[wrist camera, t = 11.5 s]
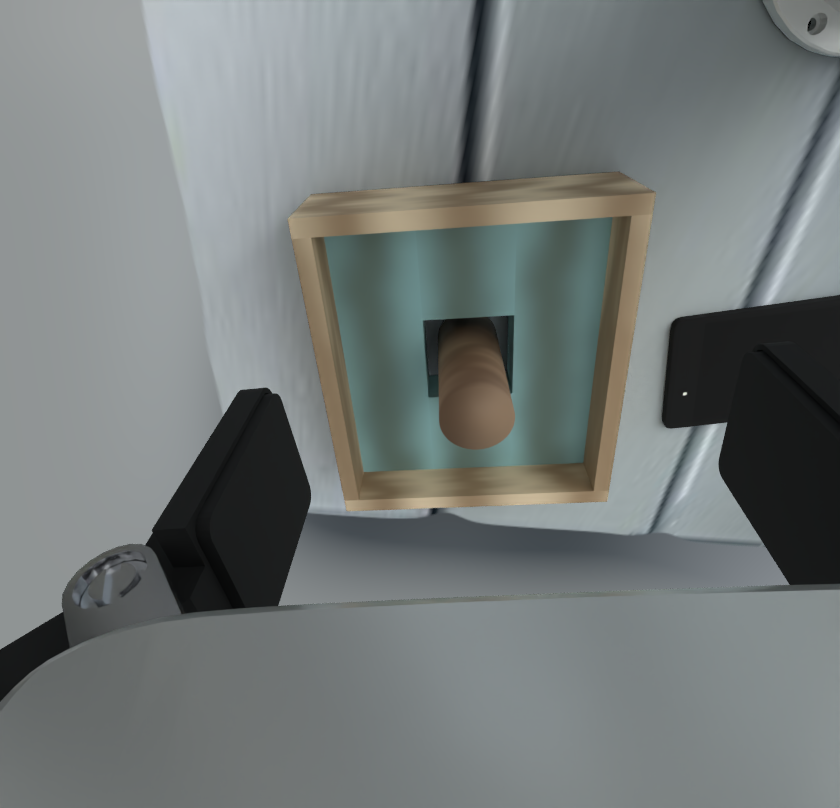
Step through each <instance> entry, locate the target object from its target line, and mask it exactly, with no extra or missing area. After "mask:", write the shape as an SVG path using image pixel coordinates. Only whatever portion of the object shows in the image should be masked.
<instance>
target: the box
mask: <svg viewBox="0 0 840 808" xmlns="http://www.w3.org/2000/svg"><path fill="white" fill-rule="evenodd" d="M655 196H656V192H654V191H652V190H650V189H649V188H647V187H645V186H643V185H642V184H640V183H638V182H637V181H635V180H633V179H631V178H630V177H628V176H626V175H624V174H623V173H621V172H607V173H593V174H579V175H566V176H552V177H539V178H525V179H511V180H498V181H484V182H471V183H457V184H444V185H430V186H416V187H403V188H389V189H376V190H362V191H348V192H335V193H321V194H311V195H310V196H309V197H308V198H307V199H306V200H305V201H304V202H303V203H302V204H301V205H300V206H299V207H298V209H297V210H296V211H295V212H294V213H293V214H292V215H291V216H290V217H289V218H288V224H289V229H290V234H291V239H292V244H293V248H294V253H295V258H296V263H297V268H298V273H299V278H300V283H301V288H302V293H303V298H304V303H305V308H306V313H307V318H308V323H309V328H310V332H311V337H312V342H313V347H314V352H315V357H316V362H317V367H318V372H319V377H320V382H321V387H322V392H323V397H324V402H325V407H326V412H327V416H328V421H329V426H330V431H331V436H332V441H333V446H334V451H335V456H336V461H337V466H338V471H339V476H340V481H341V486H342V491H343V496H344V500H345V505H346V510H347V511H367V510H394V509H421V508H448V507H475V506H502V505H529V504H556V503H583V502H607V499H608V493H609V486H610V480H611V474H612V467H613V461H614V455H615V449H616V442H617V436H618V430H619V423H620V417H621V411H622V404H623V398H624V392H625V385H626V379H627V373H628V367H629V360H630V354H631V348H632V341H633V335H634V329H635V322H636V316H637V310H638V303H639V297H640V291H641V285H642V278H643V272H644V266H645V259H646V253H647V247H648V240H649V234H650V228H651V221H652V215H653V209H654V203H655ZM491 316H508V359H507V372H505V373H506V377H507V381H508V386H509V390H510V394H511V399H512V403H513V407H514V412H515V422H514V426H513V428H512V430H511V432H510V434H509V435H508V436H507V437H506V438H505V439H504V440H503V441H501V442H500V443H498V444H497V445H494V446H492V447H489V448H485V449H479V450H472V449H466V448H462V447H459V446H457V445H455V444H453V443H452V442H450V441H449V440H448V439H447V438H446V437H445V436H444V434H443V433H442V431H441V428H440V425H439V378H438V375H430V376H429V371H428V357H427V343H426V330H425V320H440V319H457V318H474V317H491Z"/></svg>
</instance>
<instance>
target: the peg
mask: <svg viewBox="0 0 840 808" xmlns="http://www.w3.org/2000/svg"><path fill="white" fill-rule="evenodd" d="M438 378H439V425H440V428H441V431H442V433H443V434H444V436H445V437H446V438H447V439H448V440H449V441H450V442H452V443H453V444H455V445H457V446H459V447H462V448H466V449H472V450H479V449H485V448H489V447H492V446H494V445H497V444H498V443H500V442H501V441H503V440H504V439H505V438H506V437H507V436H508V435H509V434H510V432H511V430H512V428H513V426H514V422H515V412H514V407H513V403H512V399H511V394H510V390H509V386H508V381H507V377H506V373H505V368H504V364H503V360H502V355H501V351H500V347H499V342H498V338H497V334H496V329H495V327H494V324H493V323H492V321H491V320H490V319H489V318H488V317H474V318H457V319H446V320H445V321H444V322H443V323H442V325H441V327H440V329H439V333H438Z"/></svg>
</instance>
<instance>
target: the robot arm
mask: <svg viewBox="0 0 840 808" xmlns="http://www.w3.org/2000/svg"><path fill="white" fill-rule="evenodd" d="M763 3H764V5H765V7H766V9H767V10H768V12H769V14H770V16H771V18H772V20H773V22H774V23H775V24H776V26H777V27H778V28H779V29H780V30H781V31H782V32H783V33H784V34H785V35H786V36H787V37H788V38H789V40H791V41H793V42H794V43H796V44H798V45H799V46H801V47H803V48H804V49H806V50H808V51H811V52H815V53H818V54H822V55H825V56H829V57H840V0H763ZM809 21H811V26H810V28H809V29H808V23H809ZM719 471H720V474H721V477H722V479H723V480H724V482H725V484H726V485H727V487H728V488H729V490H730V491H731V493H732V495H733V496H734V498H735V499H736V501H737V502H738V504H739V506H740V507H741V509H742V510H743V512H744V513H745V515H746V517H747V518H748V520H749V521H750V523H751V524H752V526H753V528H754V529H755V531H756V532H757V534H758V535H759V537H760V539H761V540H762V542H763V543H764V545H765V546H766V548H767V550H768V551H769V553H770V554H771V556H772V557H773V559H774V561H775V562H776V564H777V565H778V567H779V568H780V570H781V572H782V573H783V575H784V576H785V578H786V579H787V581H788V583H789V584H790V585H775V586H747V587H717V588H691V589H690V588H689V589H662V590H661V589H659V590H631V591H606V592H580V593H555V594H554V593H553V594H528V595H503V596H479V597H454V598H432V599H411V600H388V601H368V602H367V601H366V602H345V603H322V604H304V605H287V606H278V604H279V601H280V598H281V595H282V592H283V589H284V585H285V582H286V579H287V576H288V572H289V569H290V566H291V563H292V560H293V557H294V553H295V550H296V547H297V544H298V541H299V538H300V534H301V531H302V528H303V525H304V522H305V518H306V515H307V512H308V509H309V506H310V502H311V490H310V485H309V482H308V479H307V476H306V473H305V470H304V467H303V464H302V461H301V458H300V455H299V452H298V449H297V446H296V443H295V440H294V437H293V434H292V431H291V428H290V425H289V422H288V419H287V415H286V412H285V409H284V406H283V403H282V400H281V398H280V396H279V395H278V394H272V392H271V391H270V390H269V389H268V388H258V389H247V390H240V391H239V392H238V393H237V395H236V397H235V398H234V400H233V401H232V403H231V405H230V406H229V408H228V409H227V411H226V413H225V414H224V416H223V417H222V419H221V421H220V422H219V424H218V425H217V427H216V429H215V430H214V432H213V433H212V435H211V436H210V438H209V440H208V441H207V443H206V444H205V446H204V448H203V449H202V451H201V452H200V454H199V456H198V457H197V459H196V460H195V462H194V464H193V465H192V467H191V468H190V470H189V472H188V473H187V475H186V476H185V478H184V480H183V481H182V483H181V484H180V486H179V488H178V489H177V491H176V492H175V494H174V495H173V497H172V499H171V500H170V502H169V504H168V505H167V507H166V508H165V510H164V511H163V513H162V515H161V516H160V518H159V519H158V521H157V523H156V524H155V526H154V527H153V529H152V532H153V534H152V535H151V537H150V538H149V540H148V542H147V543H146V545H142V544H128V545H123V546H119V547H116V548H114V549H111V550H108V551H106V552H104V553H102V554H100V555H99V556H97V557H95V558H94V559H92V560H90V561H89V562H88V563H87V564H85V565H84V566H83V567H82V568H81V569H80V570H78V571H77V572H76V574H75V575H74V576H73V577H72V578H71V580H70V581H69V582H68V584H67V586H66V588H65V590H64V592H63V594H62V608H63V612H62V613H60V614H59V615H57V616H55V617H54V618H52V619H50V620H49V621H47V622H45V623H44V624H42V625H40V626H39V627H37V628H35V629H34V630H32V631H30V632H29V633H27V634H25V635H24V636H22V637H20V638H19V639H17V640H15V641H14V642H12V643H11V644H9V645H7V646H5V647H4V648H2V649H1V650H0V808H840V380H838V379H837V378H836V377H835V376H834V375H832V374H831V373H830V372H829V371H828V370H827V369H825V368H824V367H823V366H822V365H821V364H819V363H818V362H817V361H816V360H815V359H814V358H812V357H811V356H810V355H809V354H808V353H806V352H805V351H804V350H803V349H802V348H801V347H799V346H798V345H797V344H796V343H794V342H777V343H766V344H758V345H756V346H755V347H754V348H753V350H752V352H748V353H746V354H745V355H744V356H743V359H742V362H741V366H740V371H739V375H738V379H737V384H736V388H735V392H734V397H733V401H732V405H731V410H730V414H729V418H728V423H727V427H726V431H725V436H724V440H723V444H722V449H721V453H720V457H719Z"/></svg>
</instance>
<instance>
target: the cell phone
mask: <svg viewBox="0 0 840 808" xmlns="http://www.w3.org/2000/svg"><path fill="white" fill-rule="evenodd" d="M777 342H794V343H796V344H797V345H798V346H799V347H801V348H802V349H803V350H804V351H805V352H806V353H808V354H809V355H810V356H811V357H812V358H814V359H815V360H816V361H817V362H818V363H819V364H821V365H822V366H823V367H824V368H825V369H827V370H828V371H829V372H830V373H831V374H832V375H834V376H835V377H836V378H837V379H838V380H840V295H837V296H830V297H823V298H816V299H808V300H801V301H794V302H787V303H779V304H772V305H765V306H758V307H750V308H743V309H736V310H729V311H722V312H714V313H707V314H700V315H693V316H686V317H680V318H677V319H675V320H674V321H673V323H672V326H671V330H670V339H669V349H668V360H667V370H666V381H665V391H664V402H663V412H662V421H663V423H664V425H665V426H666V427H667V428H680V427H690V426H699V425H707V424H716V423H724V422H728V418H729V414H730V410H731V405H732V401H733V397H734V392H735V388H736V384H737V379H738V375H739V371H740V366H741V362H742V359H743V356H744V355H745V354H746V353H748V352H752V350H753V348H754V347H755V346H756V345H758V344H766V343H777Z"/></svg>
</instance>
